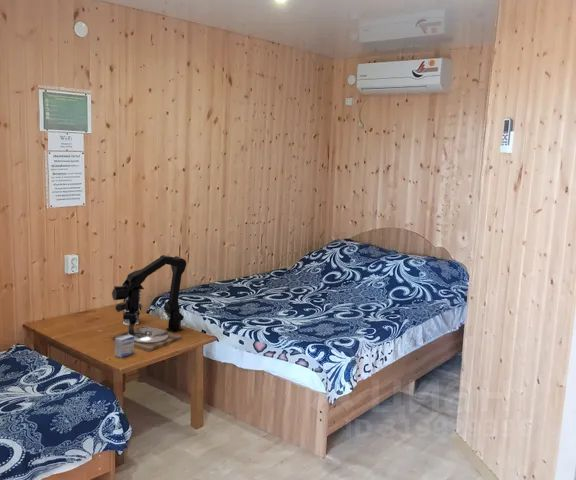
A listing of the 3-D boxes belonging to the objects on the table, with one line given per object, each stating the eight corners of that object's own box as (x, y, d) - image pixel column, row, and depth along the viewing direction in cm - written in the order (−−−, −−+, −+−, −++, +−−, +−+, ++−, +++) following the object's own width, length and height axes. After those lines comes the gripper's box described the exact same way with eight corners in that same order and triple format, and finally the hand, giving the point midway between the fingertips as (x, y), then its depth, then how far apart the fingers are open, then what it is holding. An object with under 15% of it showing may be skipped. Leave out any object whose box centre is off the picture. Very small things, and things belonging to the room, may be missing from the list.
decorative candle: (143, 322, 313) (145, 278, 309) (130, 326, 305) (132, 281, 301) (131, 318, 318) (133, 275, 313) (118, 322, 310) (120, 278, 306)
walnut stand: (147, 327, 306) (147, 323, 305) (181, 338, 294) (182, 334, 294) (113, 339, 285) (113, 334, 285) (148, 351, 274) (149, 346, 273)
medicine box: (120, 358, 263) (121, 340, 262) (114, 355, 266) (114, 337, 264) (133, 353, 270) (134, 336, 269) (127, 351, 272) (127, 333, 271)
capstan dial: (170, 330, 300) (171, 319, 299) (165, 344, 281) (166, 332, 280) (131, 328, 298) (132, 317, 297) (124, 342, 279) (124, 330, 278)
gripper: (121, 291, 297) (120, 320, 300) (113, 302, 279) (112, 332, 281) (142, 293, 298) (141, 321, 301) (136, 303, 280) (135, 334, 282)
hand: (132, 327), depth 291 cm, fingers closed
